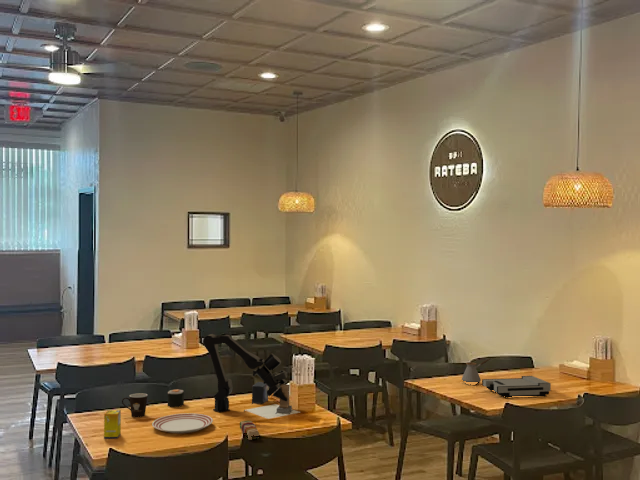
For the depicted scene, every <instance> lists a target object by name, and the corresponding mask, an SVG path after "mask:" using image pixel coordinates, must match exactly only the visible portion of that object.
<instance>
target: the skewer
mask: <svg viewBox="0 0 640 480" xmlns="http://www.w3.org/2000/svg"><path fill="white" fill-rule="evenodd" d="M239 428H240V430H241V432H242V434H243V433H247V435H248V438H247V439H248V440H249V441H253V440H252V437H251V436H253V435H254V436H259V435H260V434H259V430H258V427H257V426H256V424H255V423H254V422H253V421H252V420H242V421H240V422H239Z"/></svg>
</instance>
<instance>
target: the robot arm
mask: <svg viewBox="0 0 640 480" xmlns="http://www.w3.org/2000/svg"><path fill="white" fill-rule="evenodd" d="M202 342H203V346H204V347H205V349H206V350H207V352H208V353H209V356H210V359H211V362H212V365H213V368H214V372H215V375H216V378H217V392H216V393H215V394H214V395H213V398H214V408H212V411H215V412H217V413H224V412H229V411H230V410H231V409H230V400H229V396H230V394H231V393H232V392H233V387H234V384H233V382H232V379H231V378H228V377H227V376H226V371H225V369H224V366H223V362H222V358H221V356H220V352H219V345H220V344H225V346H227V347H228V348H230V349H231V350H232V351H233V352H234V353H235V354H237V355H238V356H239V357H240V358H241V359H242V360H243V363H245V365H246V366H247V367H248V368H249V369H251V370H252V376H253V377H256V375H257V376H258V377H259V378H260V379H261V380H262V381H263V383H264V384H266V385H267V386H268V391H267V395H268V398H269V397H270V396H272V397H275V398H277V399H279V400H280V399H282V400H284V401H287V398H286V397H285V395H284V394H283V392H282V387H280V385H281V384H286V382H287V380H286V379H287V378H288V372H287V371H286V370H284V369H281V370H280V371H279V373H277V374H276V373H274V372H273V373H272V372H271V371H274V370H275V369H276V368H277V367H278V366H280V365H281V363H282V360H281V359H280V358H279V356H277V355H275V354H274V353H270V354H269V356H268V357H266V359H265V358H260V356H258V355H256V354H254V353H252V352H250V351H248V350H247V349H246V348H244V347H243V346H242V345H241V344H240V343H239V342H238V341H236V340H235V339H234V338H233V337H232V336H231V335H229V334H213V333H211V334H207V335H206V336H205V337H204V338H203V340H202Z"/></svg>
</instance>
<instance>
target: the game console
mask: <svg viewBox="0 0 640 480" xmlns="http://www.w3.org/2000/svg"><path fill="white" fill-rule="evenodd" d="M481 382H482V383H481V386H484V387H486V389H487V388H488V390H489V391H490V392H492V390H494V391H495V392H497V393H496V394H497V395H499V396H500V397H502V396H505V397H512V396H546V397H547V395H550V392H551V387H552V385H551V384H552V383H551V382H549V381H547V380H543V379H541V378H538V377H536V376H534V375H521V377H515V378H513V377H511V378H482V380H481Z"/></svg>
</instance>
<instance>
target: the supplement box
mask: <svg viewBox="0 0 640 480" xmlns="http://www.w3.org/2000/svg"><path fill="white" fill-rule="evenodd" d="M103 415H104V416H103V417H104V419H103V423H104V424H103V427H104V428H103V434H104V435H103V439H104V440H107V439H108V440H113V439H114V440H115V439H118V438H119V437H120V436H121V431H122V430H121V426H122V425H121V421H122V418H121V417H122V413H121V410H120V409H119V410H118V409H117V410H116V409H115V410H113V409H111V410H107V411H105V412H104V414H103Z"/></svg>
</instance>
